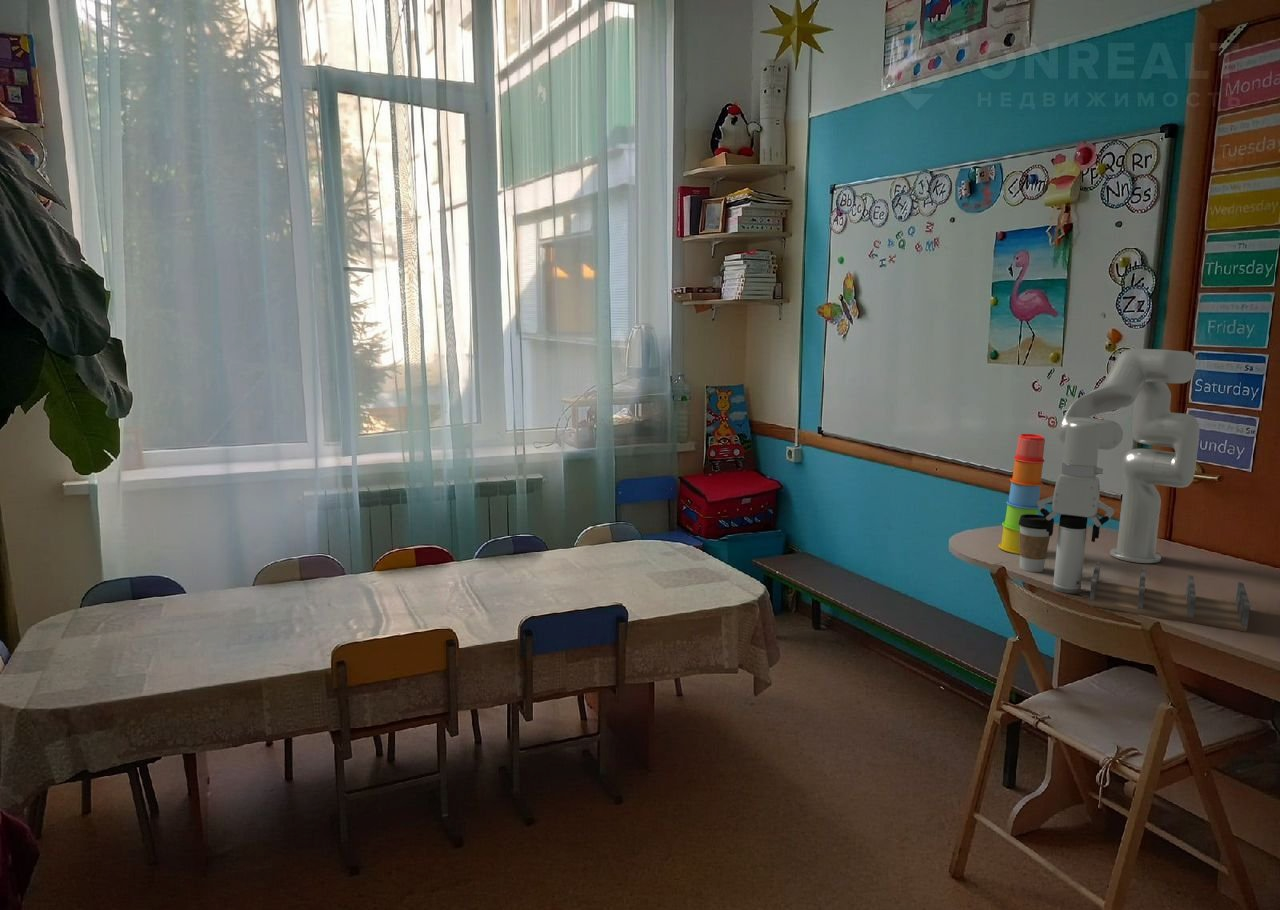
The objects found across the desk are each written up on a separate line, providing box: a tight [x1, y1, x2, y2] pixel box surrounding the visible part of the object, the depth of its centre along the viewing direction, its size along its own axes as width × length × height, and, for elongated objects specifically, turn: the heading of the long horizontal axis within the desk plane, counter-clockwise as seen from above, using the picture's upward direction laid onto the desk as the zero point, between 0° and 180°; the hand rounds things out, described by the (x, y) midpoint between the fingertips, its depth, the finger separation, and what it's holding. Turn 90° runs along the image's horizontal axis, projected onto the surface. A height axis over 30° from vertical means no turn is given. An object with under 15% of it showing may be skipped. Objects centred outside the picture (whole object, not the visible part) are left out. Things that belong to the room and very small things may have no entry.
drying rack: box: [1088, 561, 1251, 633], centre depth 200 cm, size 18×31×6 cm, turn 58°
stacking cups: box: [998, 433, 1046, 555], centre depth 244 cm, size 10×10×35 cm
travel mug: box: [1052, 515, 1088, 595], centre depth 210 cm, size 6×7×20 cm
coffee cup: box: [1019, 514, 1051, 573], centre depth 228 cm, size 8×8×15 cm
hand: (1071, 537), depth 209 cm, fingers open, 9 cm apart
